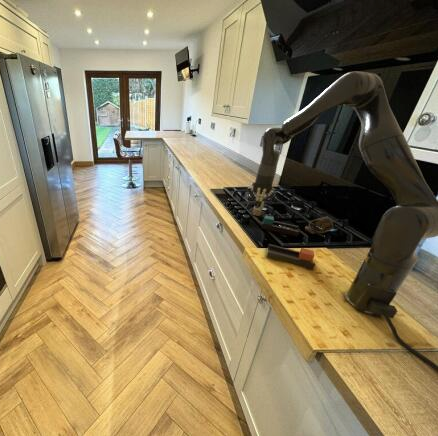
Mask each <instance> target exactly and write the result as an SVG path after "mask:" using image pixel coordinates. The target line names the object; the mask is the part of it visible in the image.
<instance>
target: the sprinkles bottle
mask: <svg viewBox="0 0 438 436" xmlns="http://www.w3.org/2000/svg"><path fill="white" fill-rule="evenodd" d="M267 194H268V193H267ZM267 194H265V195H264V197H263V198H265V197H266V196H268V195H267ZM260 197H261V194H260V195H259V200H260ZM265 202H266V201H262V203H261V206H260V207H259V208H255V206H253V210H252V215H254V216H256V217H260V216H261V215H262V211H263V209H264V205H265ZM257 206H258V205H257ZM253 212H254V213H253Z"/></svg>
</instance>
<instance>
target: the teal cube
mask: <svg viewBox="0 0 438 436" xmlns="http://www.w3.org/2000/svg"><path fill="white" fill-rule="evenodd" d="M263 219H264V221H263V220H262V221H263V223H265V224H269V225H272V224H273V221H275V217H274V216H271V215H264V218H263Z"/></svg>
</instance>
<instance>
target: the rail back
mask: <svg viewBox="0 0 438 436" xmlns="http://www.w3.org/2000/svg"><path fill="white" fill-rule="evenodd" d="M263 221H264V218H262V220H261V225H260V229H261V230H264V231H265V230H266V231H269V232H275V233H278V234H283V235H287V236H290V237H291V236H292V237H294V238H295V237H296V238H299V234H300V230H299V227H300V226H299V225H294V224H290V223H285V222H280V221H276V220H274V221H273V224H272V225H269V224H265V223H263ZM279 225H282V226H286V227H291V228H293V229H287V228H283V227H280V226H279Z"/></svg>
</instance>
